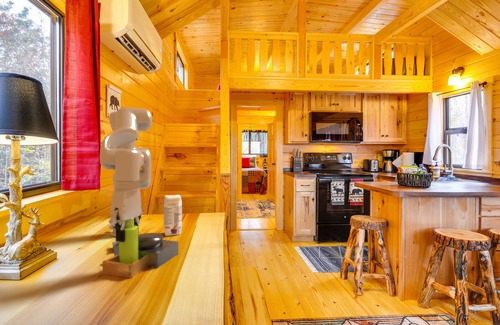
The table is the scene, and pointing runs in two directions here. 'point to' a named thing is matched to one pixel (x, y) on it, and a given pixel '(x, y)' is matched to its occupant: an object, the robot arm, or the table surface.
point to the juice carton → (172, 215)
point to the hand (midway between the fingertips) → (127, 237)
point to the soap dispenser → (129, 243)
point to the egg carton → (115, 244)
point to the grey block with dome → (143, 256)
